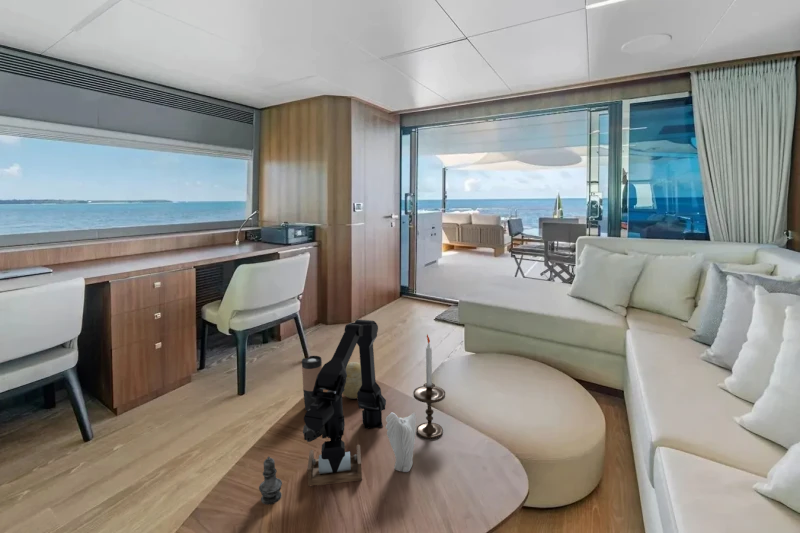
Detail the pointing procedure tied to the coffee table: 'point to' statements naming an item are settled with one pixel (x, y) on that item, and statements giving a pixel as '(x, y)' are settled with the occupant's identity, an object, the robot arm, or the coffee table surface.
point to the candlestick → (429, 400)
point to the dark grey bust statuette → (270, 483)
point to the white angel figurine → (402, 439)
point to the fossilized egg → (352, 380)
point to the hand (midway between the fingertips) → (335, 461)
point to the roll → (326, 467)
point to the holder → (336, 477)
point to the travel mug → (310, 378)
